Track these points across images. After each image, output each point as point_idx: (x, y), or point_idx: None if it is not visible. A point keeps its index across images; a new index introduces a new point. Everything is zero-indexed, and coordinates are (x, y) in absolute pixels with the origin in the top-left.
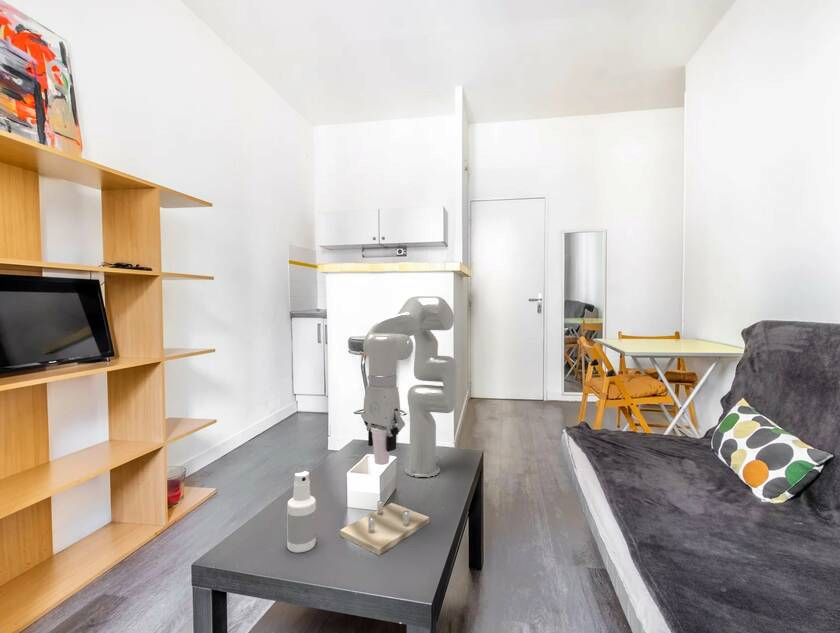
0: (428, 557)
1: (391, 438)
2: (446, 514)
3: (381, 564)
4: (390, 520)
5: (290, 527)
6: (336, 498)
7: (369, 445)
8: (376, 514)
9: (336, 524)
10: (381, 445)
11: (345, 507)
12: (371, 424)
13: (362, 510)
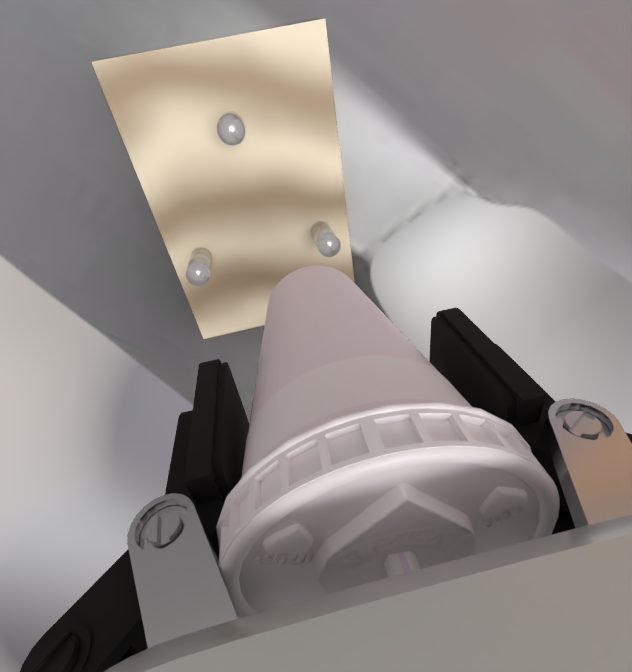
0: (8, 207)
1: (174, 489)
2: None
3: (31, 26)
4: (260, 233)
5: None
6: (538, 189)
7: (441, 311)
8: (327, 219)
9: (399, 69)
10: (271, 362)
11: (467, 177)
12: (580, 506)
13: (406, 213)
